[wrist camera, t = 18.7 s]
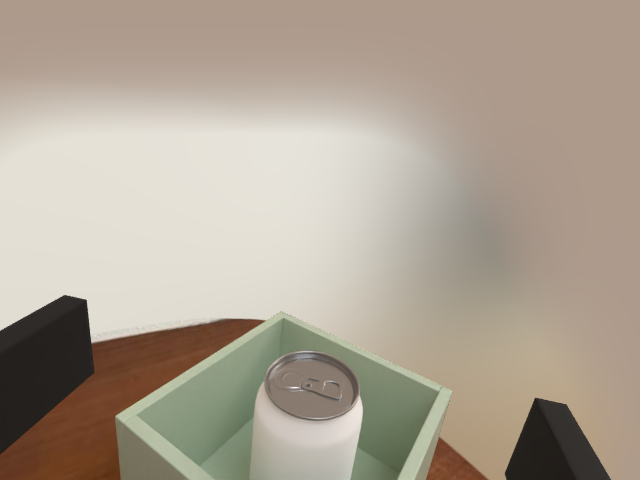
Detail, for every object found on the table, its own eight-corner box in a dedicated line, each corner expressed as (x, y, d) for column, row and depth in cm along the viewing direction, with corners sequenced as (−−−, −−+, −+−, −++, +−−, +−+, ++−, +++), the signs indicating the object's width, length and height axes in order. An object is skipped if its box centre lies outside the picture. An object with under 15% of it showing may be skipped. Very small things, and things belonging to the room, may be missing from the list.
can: (264, 466, 29) (276, 337, 25) (345, 488, 28) (371, 358, 24) (230, 557, 23) (238, 408, 19) (331, 589, 22) (363, 439, 18)
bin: (424, 484, 30) (452, 390, 27) (323, 740, 17) (354, 620, 14) (273, 393, 37) (281, 310, 34) (124, 527, 25) (114, 415, 21)
